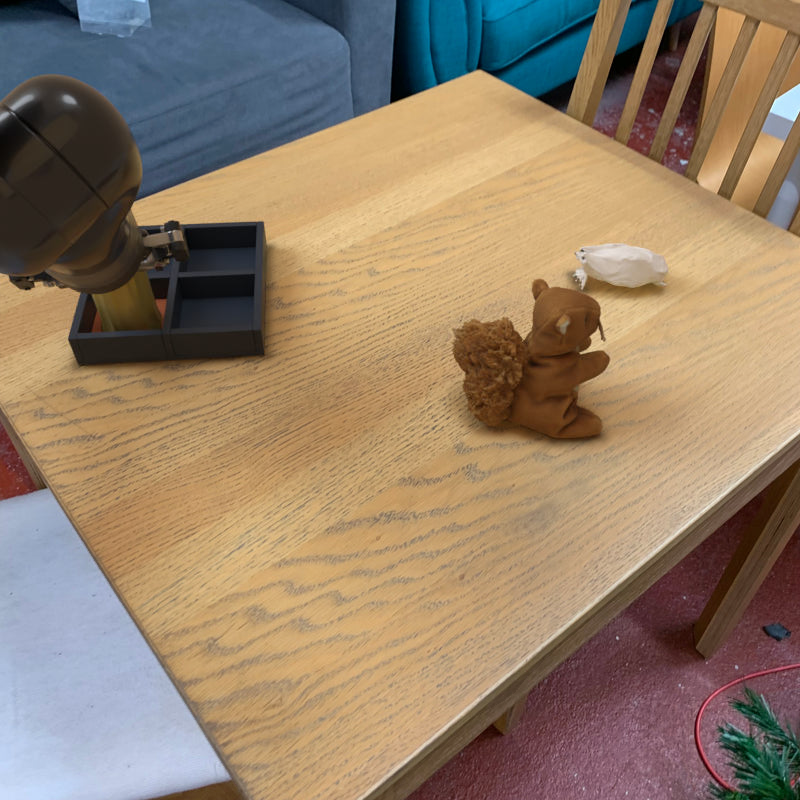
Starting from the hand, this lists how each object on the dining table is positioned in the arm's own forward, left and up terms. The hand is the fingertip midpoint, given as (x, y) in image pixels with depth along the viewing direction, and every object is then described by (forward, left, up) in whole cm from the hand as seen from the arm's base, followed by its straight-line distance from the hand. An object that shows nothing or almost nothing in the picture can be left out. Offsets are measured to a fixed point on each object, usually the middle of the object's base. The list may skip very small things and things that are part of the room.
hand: (110, 268), depth 71 cm
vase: (0, +2, -9) cm, 9 cm away
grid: (+4, +7, -10) cm, 12 cm away
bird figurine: (+53, +6, -10) cm, 54 cm away
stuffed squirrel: (+38, -11, -10) cm, 41 cm away
